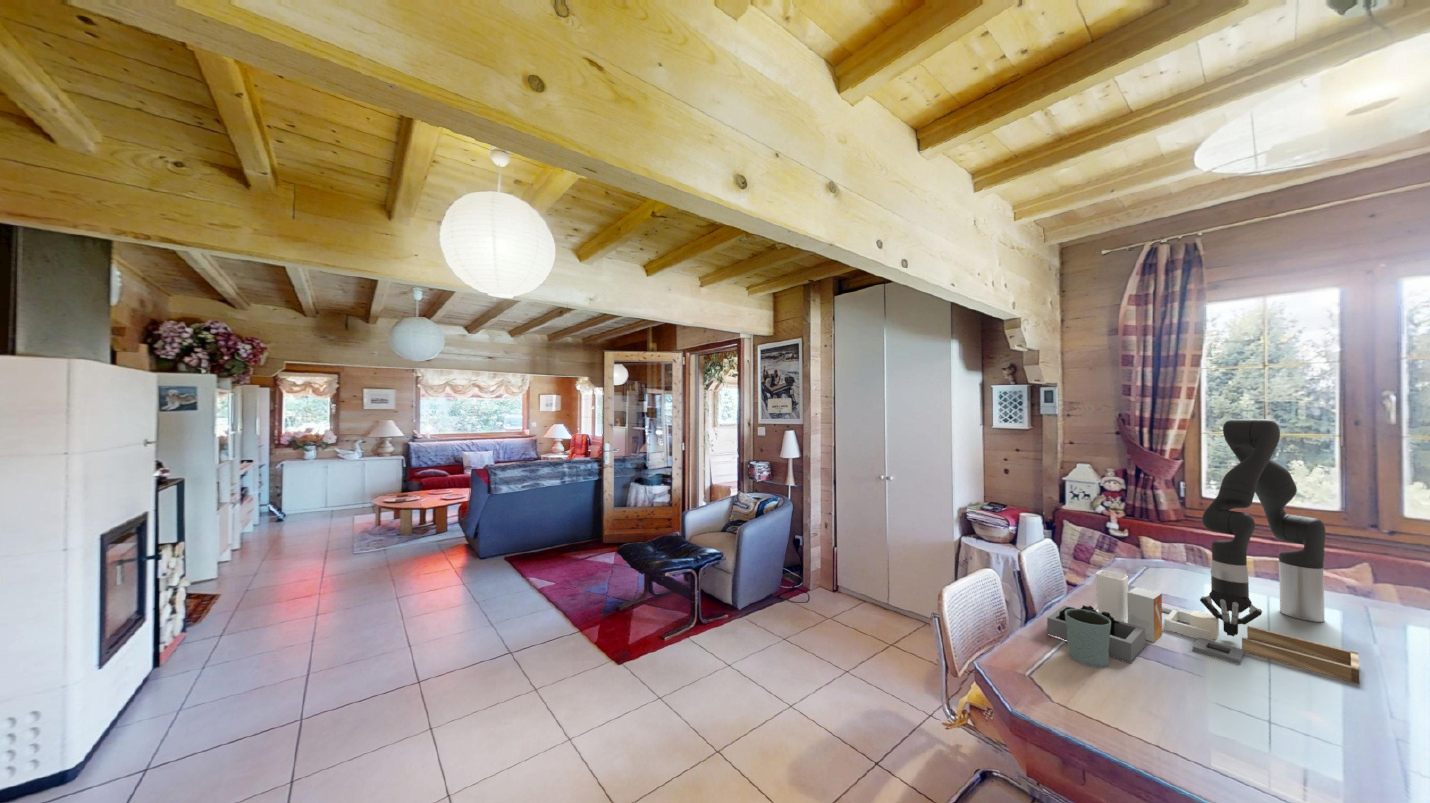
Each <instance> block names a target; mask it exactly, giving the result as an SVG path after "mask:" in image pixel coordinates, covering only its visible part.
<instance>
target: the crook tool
mask: <svg viewBox="0 0 1430 803" xmlns="http://www.w3.org/2000/svg"><path fill="white" fill-rule="evenodd" d="M1173 609H1174V608H1168V607H1163V606H1162V613H1167V614H1170V612H1171V611H1172V610H1173Z"/></svg>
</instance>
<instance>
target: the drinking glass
mask: <svg viewBox="0 0 1430 803" xmlns="http://www.w3.org/2000/svg"><path fill="white" fill-rule="evenodd" d="M1065 620H1066V625H1067V626H1066V627H1067V640H1068V642H1067V649H1068V655H1069V657H1070V658H1071V659H1072V660H1074V662H1078V663H1079V664H1081V665H1085V666H1087V665H1088V666H1087V667H1091V666H1093V667H1092V668H1098V667H1102V668H1105V666H1106V667H1108V665H1109V657H1110V656H1109V653H1108V648H1109V639H1110V629H1111V620H1110V619H1109V618H1107V617H1106V616H1104V615H1102V614H1099V612H1098V613H1096V612H1093V611H1089V610H1084V609H1081V608H1076V609H1068V610H1066V611H1065Z"/></svg>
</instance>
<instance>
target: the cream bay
mask: <svg viewBox="0 0 1430 803" xmlns="http://www.w3.org/2000/svg"><path fill="white" fill-rule="evenodd" d="M1172 609H1173V610H1172V611H1171V612H1170V613H1168V615H1167V616H1166V618H1165V619H1164V621H1163V622H1164V624H1163V625H1164V630H1165V631H1168V632H1172V633H1175V632H1177V633H1176V634H1180V635H1182V634H1183V636H1186V637H1190V638H1194V639H1196V640H1197V639H1198V637H1200V638H1204V639H1207V640H1211V641H1213V639H1212V631H1209V630H1205V629H1201V628H1198V627H1194V626H1190V614H1191V613H1192V612H1188V611H1184V610H1181V609H1176V608H1172ZM1178 621H1179V622H1178ZM1182 622H1185V623H1187V624H1185V623H1182Z"/></svg>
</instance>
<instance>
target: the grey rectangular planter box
mask: <svg viewBox="0 0 1430 803" xmlns="http://www.w3.org/2000/svg"><path fill="white" fill-rule="evenodd" d="M1066 607H1069V606H1067V605H1062V606H1061V607H1060V608H1058V609H1057V610H1056V611H1054V612H1053V613H1051V614H1050V615H1049V616H1047V618H1046V621H1047V622H1046V623H1047V624H1046V625H1047V627H1046V628H1047V635H1048V634H1050V635H1053V636H1057V637H1060V638H1062V639H1064V640H1067V627H1066V626H1067V625H1066V621H1063V620H1060V619H1059V613H1060V611H1062V610H1063V609H1065V608H1066ZM1074 608H1075V607H1074ZM1075 609H1077V608H1075ZM1115 621H1118V620H1115ZM1118 622H1119V623H1120V624H1118V623H1115V624H1114V634H1115V636H1112V635H1110V639H1109V648H1108V653H1109V657H1110V658H1113V657H1114V658H1113V659H1116V658H1117V660H1120V661H1122V660H1123V662H1125V661H1126V662H1125V663H1128V664H1133V663H1134V661H1135V660H1136V659H1137V658H1136V657H1138V656H1139V655H1140V654H1141V653H1142V652H1143V650H1144V649H1145V648H1146V640H1145V628H1142V627H1139V626H1135V625H1132V624H1128V622H1125V621H1123V622H1121V621H1118ZM1067 641H1068V640H1067ZM1143 648H1144V649H1143ZM1132 662H1133V663H1132Z"/></svg>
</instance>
